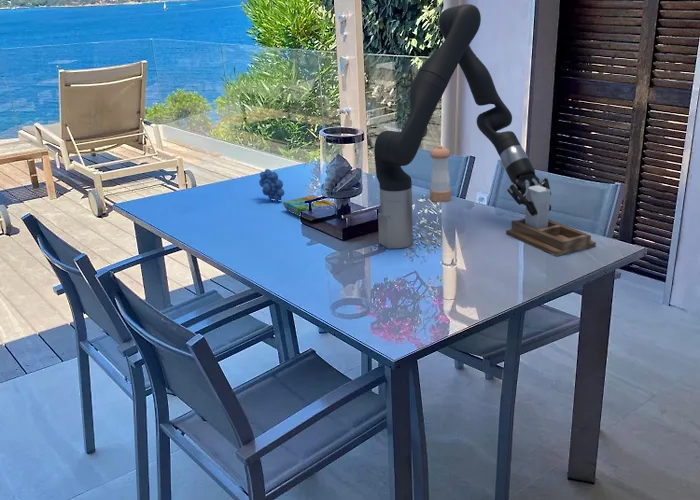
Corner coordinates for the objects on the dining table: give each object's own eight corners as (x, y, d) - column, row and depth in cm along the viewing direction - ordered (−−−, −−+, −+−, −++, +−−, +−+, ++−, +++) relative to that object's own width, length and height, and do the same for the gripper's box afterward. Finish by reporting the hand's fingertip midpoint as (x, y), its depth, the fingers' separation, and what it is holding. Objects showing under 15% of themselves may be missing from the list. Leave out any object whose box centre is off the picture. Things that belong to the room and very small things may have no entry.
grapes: (253, 202, 253) (250, 170, 249) (266, 197, 258) (263, 166, 254) (276, 206, 246) (273, 173, 242) (289, 201, 251) (286, 169, 247)
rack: (556, 256, 187) (556, 243, 185) (506, 234, 206) (506, 222, 204) (595, 246, 192) (596, 234, 191) (543, 225, 211) (543, 214, 210)
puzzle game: (311, 192, 244) (342, 204, 228) (312, 205, 246) (343, 218, 230) (282, 199, 238) (312, 212, 223) (284, 212, 240) (313, 225, 224)
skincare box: (524, 226, 205) (525, 186, 201) (536, 223, 206) (538, 184, 202) (536, 231, 200) (537, 191, 195) (549, 229, 201) (551, 189, 197)
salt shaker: (426, 198, 245) (425, 145, 239) (443, 195, 248) (443, 142, 241) (437, 203, 239) (436, 149, 232) (454, 199, 242) (454, 146, 235)
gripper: (503, 160, 199) (528, 210, 193) (542, 153, 205) (568, 202, 199) (491, 174, 206) (515, 223, 200) (529, 167, 211) (554, 214, 205)
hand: (541, 212), depth 199 cm, fingers closed on skincare box, 4 cm apart
